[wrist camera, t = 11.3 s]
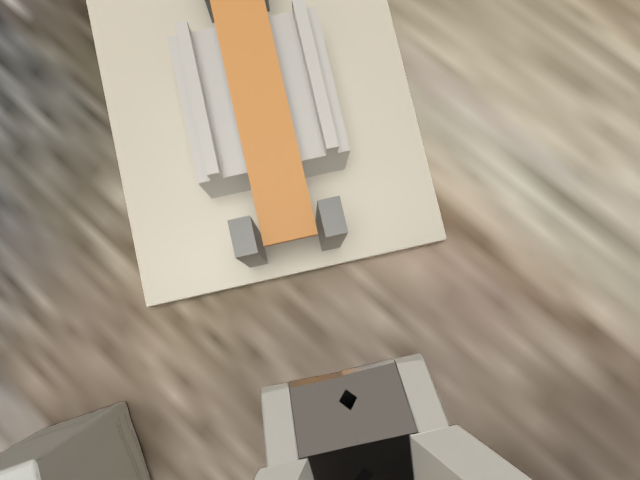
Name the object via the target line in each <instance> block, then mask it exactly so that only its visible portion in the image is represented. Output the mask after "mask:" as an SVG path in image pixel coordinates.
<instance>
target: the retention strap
mask: <svg viewBox="0 0 640 480" xmlns="http://www.w3.org/2000/svg"><path fill="white" fill-rule="evenodd" d="M210 4H211V8H212V13H213V17H214V22H215V27H216V31H217V36H218V40H219V45H220V49H221V54H222V59H223V63H224V68H225V72H226V77H227V81H228V86H229V91H230V95H231V100H232V104H233V109H234V113H235V118H236V123H237V127H238V132H239V136H240V141H241V145H242V150H243V154H244V159H245V164H246V168H247V173H248V177H249V182H250V186H251V191H252V196H253V200H254V205H255V209H256V214H257V218H258V223H259V228H260V232H261V237H262V241H263V246H264V247H267V246H271V245H276V244H280V243H285V242H289V241H294V240H298V239H303V238H307V237H312V236H316V235H318V231H317V227H316V222H315V218H314V214H313V209H312V205H311V201H310V196H309V192H308V187H307V183H306V179H305V174H304V170H303V166H302V161H301V157H300V152H299V148H298V144H297V139H296V135H295V131H294V126H293V122H292V117H291V113H290V109H289V104H288V100H287V96H286V91H285V87H284V82H283V78H282V74H281V69H280V65H279V61H278V56H277V52H276V48H275V43H274V39H273V34H272V30H271V26H270V21H269V17H268V13H267V8H266V4H265V0H210Z"/></svg>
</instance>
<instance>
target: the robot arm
mask: <svg viewBox="0 0 640 480" xmlns="http://www.w3.org/2000/svg"><path fill="white" fill-rule="evenodd" d="M261 404H262V415H263V427H264V438H265V449H266V461H267V467H264V468H260V469H259V470H258V472H257V473H256V475H255V477H254V479H253V480H532V479H531V478H530V477H528V476H527V475H525V474H524V473H523V472H521V471H520V470H519V469H517V468H516V467H515V466H513V465H512V464H511V463H509V462H508V461H507V460H505V459H504V458H503V457H501V456H500V455H498V454H497V453H496V452H494V451H493V450H492V449H490V448H489V447H488V446H486V445H485V444H484V443H482V442H481V441H480V440H478V439H477V438H475V437H474V436H473V435H471V434H470V433H469V432H467V431H466V430H465V429H463V428H462V427H461V426H459V425H453V426H450V425H449V422H448V420H447V417H446V415H445V412H444V409H443V407H442V404H441V402H440V399H439V396H438V394H437V391H436V389H435V386H434V383H433V381H432V378H431V376H430V373H429V370H428V368H427V365H426V363H425V360H424V357H423V356H422V355H421V354H420V353H419V354H414V355H409V356H405V357H400V358H396V359H394V360H393V359H389V360H385V361H380V362H376V363H372V364H368V365H363V366H359V367H355V368H350V369H346V370H342V371H341V372H336V373H331V374H326V375H321V376H316V377H310V378H305V379H300V380H295V381H290V382H285V383H281V384H276V385H271V386H266V387H262V390H261Z"/></svg>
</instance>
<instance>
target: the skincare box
mask: <svg viewBox="0 0 640 480" xmlns="http://www.w3.org/2000/svg"><path fill="white" fill-rule="evenodd" d="M0 480H150V476H149V473H148V470H147V467H146V463H145V460H144V457H143V454H142V451H141V447H140V444H139V441H138V438H137V435H136V433H135V430H134V427H133V425H132V422H131V419H130V415H129V411H128V408H127V404H126V402H120V403H117V404H114V405H111V406H108V407H105V408H102V409H99V410H96V411H93V412H90V413H87V414H85V415H82V416H79V417H76V418H73V419H70V420H67V421H64V422H61V423H58V424H56V425H53V426H50V427H47V428H44V429H42V430H40V431H38V432H36V433H34V434H33V435H31V436H29V437H27V438H25V439H24V440H22V441H20V442H18V443H17V444H15V445H13V446H12V447H10V448H8V449H6V450H5V451H3V452H1V453H0Z"/></svg>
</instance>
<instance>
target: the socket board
mask: <svg viewBox="0 0 640 480" xmlns="http://www.w3.org/2000/svg"><path fill="white" fill-rule="evenodd" d="M86 2H87V7H88V12H89V17H90V22H91V27H92V33H93V38H94V43H95V48H96V53H97V58H98V63H99V68H100V73H101V78H102V83H103V88H104V93H105V98H106V104H107V109H108V114H109V119H110V124H111V129H112V134H113V139H114V144H115V149H116V154H117V159H118V164H119V169H120V175H121V180H122V185H123V190H124V195H125V200H126V205H127V210H128V215H129V220H130V225H131V230H132V235H133V240H134V246H135V251H136V256H137V261H138V266H139V271H140V276H141V281H142V286H143V291H144V296H145V301H146V306H147V307H154V306H158V305H163V304H167V303H171V302H176V301H180V300H185V299H189V298H194V297H198V296H202V295H207V294H211V293H216V292H220V291H224V290H229V289H233V288H238V287H242V286H247V285H251V284H255V283H260V282H264V281H269V280H273V279H278V278H282V277H286V276H291V275H295V274H300V273H304V272H308V271H313V270H317V269H322V268H326V267H331V266H335V265H339V264H344V263H348V262H353V261H357V260H362V259H366V258H370V257H375V256H379V255H384V254H388V253H392V252H397V251H401V250H406V249H410V248H415V247H419V246H423V245H428V244H432V243H437V242H441V241H444V240H446V239H447V238H446V234H445V230H444V226H443V222H442V218H441V214H440V210H439V206H438V202H437V198H436V194H435V190H434V186H433V182H432V178H431V174H430V170H429V166H428V162H427V158H426V154H425V150H424V146H423V142H422V138H421V134H420V130H419V126H418V122H417V118H416V114H415V110H414V106H413V102H412V98H411V94H410V90H409V86H408V82H407V78H406V74H405V70H404V66H403V62H402V58H401V54H400V50H399V46H398V42H397V38H396V34H395V30H394V26H393V22H392V18H391V14H390V10H389V6H388V2H387V0H265V4H266V8H267V13H268V17H269V21H270V26H271V30H272V34H273V39H274V43H275V48H276V52H277V56H278V61H279V65H280V69H281V74H282V78H283V82H284V87H285V91H286V96H287V100H288V104H289V109H290V113H291V117H292V122H293V126H294V131H295V135H296V139H297V144H298V148H299V152H300V157H301V161H302V166H303V170H304V174H305V179H306V183H307V187H308V192H309V196H310V201H311V205H312V209H313V214H314V218H315V222H316V227H317V231H318V235H316V236H312V237H307V238H303V239H298V240H294V241H289V242H285V243H280V244H276V245H271V246H267V247H264V246H263V241H262V237H261V232H260V228H259V223H258V218H257V214H256V209H255V205H254V200H253V196H252V191H251V186H250V182H249V177H248V173H247V168H246V164H245V159H244V154H243V150H242V145H241V141H240V136H239V132H238V127H237V123H236V118H235V113H234V109H233V104H232V100H231V95H230V91H229V86H228V81H227V77H226V72H225V68H224V63H223V59H222V54H221V49H220V45H219V40H218V36H217V31H216V27H215V22H214V17H213V13H212V8H211V4H210V0H86Z"/></svg>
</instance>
